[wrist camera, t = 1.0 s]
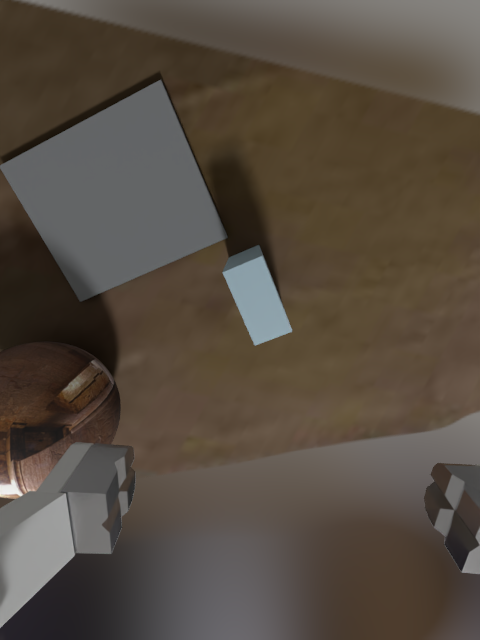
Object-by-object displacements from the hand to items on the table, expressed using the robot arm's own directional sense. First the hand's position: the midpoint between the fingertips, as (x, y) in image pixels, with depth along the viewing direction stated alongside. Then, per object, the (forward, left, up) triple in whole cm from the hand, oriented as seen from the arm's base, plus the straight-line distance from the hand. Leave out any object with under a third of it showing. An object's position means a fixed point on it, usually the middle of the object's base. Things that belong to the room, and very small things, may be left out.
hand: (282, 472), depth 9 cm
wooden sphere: (+25, +3, -28) cm, 38 cm away
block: (0, 0, -28) cm, 28 cm away
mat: (+10, -13, -28) cm, 32 cm away
